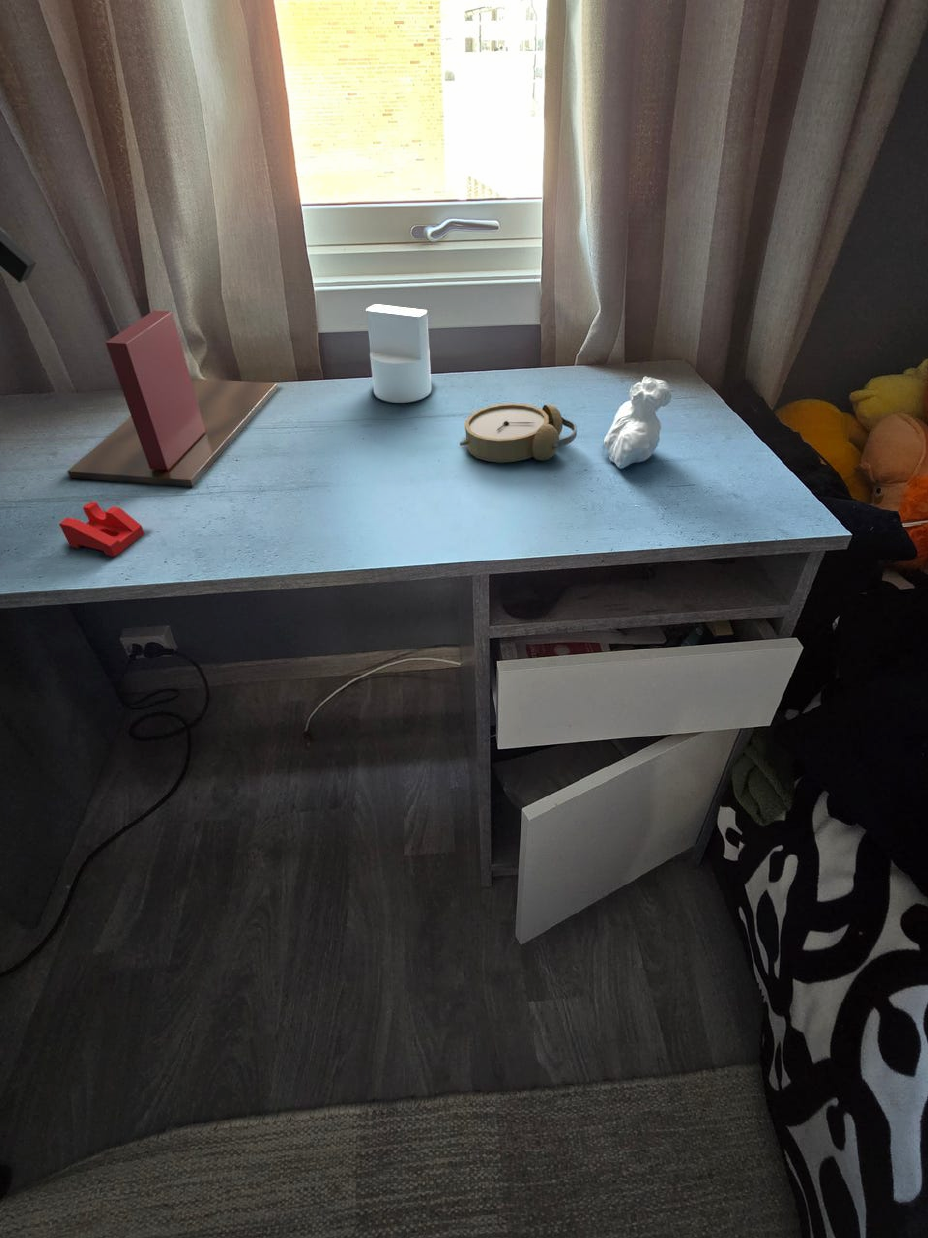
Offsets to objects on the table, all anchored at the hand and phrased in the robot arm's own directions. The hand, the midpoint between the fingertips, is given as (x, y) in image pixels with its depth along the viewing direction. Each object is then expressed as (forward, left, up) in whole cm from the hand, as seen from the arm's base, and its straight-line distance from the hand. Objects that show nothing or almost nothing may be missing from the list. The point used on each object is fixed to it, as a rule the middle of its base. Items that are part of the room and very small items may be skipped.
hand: (27, 272), depth 78 cm
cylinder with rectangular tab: (+44, -3, -23) cm, 50 cm away
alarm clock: (+49, -28, -23) cm, 61 cm away
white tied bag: (+60, -38, -23) cm, 75 cm away
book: (+9, -6, -22) cm, 25 cm away
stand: (+12, +2, -23) cm, 26 cm away
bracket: (-3, -21, -23) cm, 32 cm away
